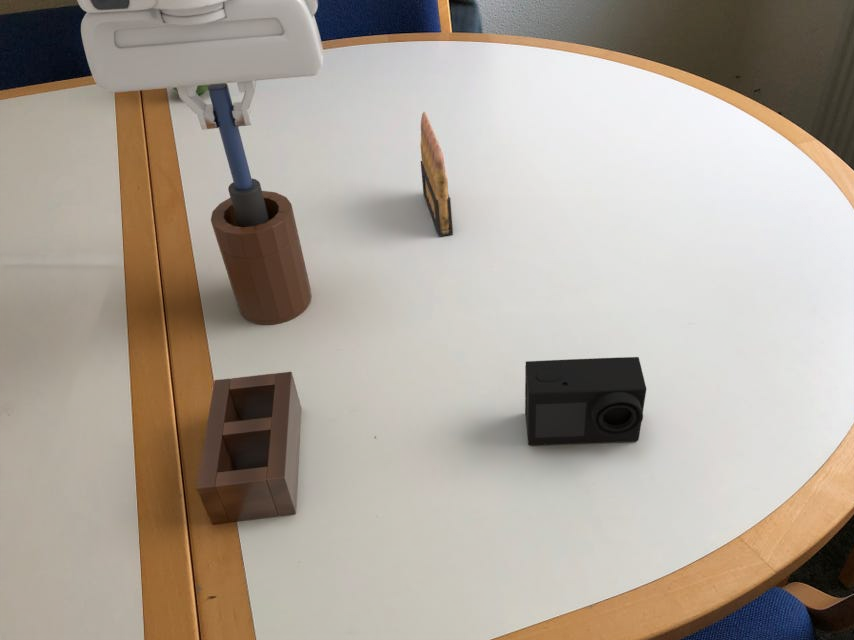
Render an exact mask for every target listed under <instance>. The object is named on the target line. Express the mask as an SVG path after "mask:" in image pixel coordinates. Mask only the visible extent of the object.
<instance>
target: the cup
mask: <svg viewBox="0 0 854 640" xmlns="http://www.w3.org/2000/svg"><path fill="white" fill-rule="evenodd" d="M262 193H263V197H264V201H265V205H266V209H267V213H268V217H269V221H268V222H266V223H263V224H260V225H257V226H250V227H239V226H238V222H237V219H236V215H235V212H234V208H233V205H232V201H231V198H230V197H229V198H227V199H225V200H223V201H222V202H220V203H219V204H218V205H217V206H216V207H215V208H214V209H213V210H212V212H211V216H210V222H211V226H212V229H213V233H214V236H215V239H216V241H217V242H216V243H217V245H218V248H219V252H220V254H221V257H222V261H223V265H224V267H225V270H226V274H227V277H228V280H229V283H230V287H231V290H232V293H233V296H234V299H235V303H236V306H237V307H238V311H239V312H240V315H241V316H242V317H243V319H245V320H247V321H248V322H251V323H253V324H258V325H268V326H269V325H279V324H282V323H285V322H289V321H291V320H293V319H295V318H297V317H298V316H299V317H300V316H301V314H303V313H304V312H305V311H306V310H307V309H308V308H309V306H310V304H311V302H312V292H311V291H312V289H311V284H310V279H309V276H308V272H307V266H306V263H305V258H304V253H303V249H302V245H301V239H300V236H299V231H298V228H297V223H296V218H295V214H294V210H293V204H292V203H291V202H290V200H289V199H288V197H287V196H285V195H282V194H280V193H278V192H275V191H267V190H262Z"/></svg>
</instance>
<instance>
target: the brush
mask: <svg viewBox="0 0 854 640" xmlns="http://www.w3.org/2000/svg"><path fill="white" fill-rule="evenodd" d="M207 91H208V94H209V97H210V101H211V105H213V109H214V112H215V116H216V120H217V123H218V131H219V135H220V138H221V141H222V145H223V149H224V152H225V157H226V160H227V163H228V167H229V170H230V174H231V178H232V182H231V183H230V184H229V185H228V188H227V191H228V193H229V198H231V201H232V205H233V208H234V212H235V215H236V219H237V222H238V226H239V227H250V226H257V225H260V224H263V223H266V222H268V221H269V217H268V213H267V209H266V205H265V201H264V197H263V193H262V191H263V190H262V186H261V183H260V181H259V180H258V179H256V178H252V175H251V171H250V167H249V163H248V159H247V155H246V152H245V147H244V145H243V144H244V143H243V140H242V136H241V132H240V128H239V127H236V125H235V118H233V114H232V108H233V101H232V97H231V93H230V89H229V85H228V83H223V84H211V85H209V86H208V89H207Z"/></svg>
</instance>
